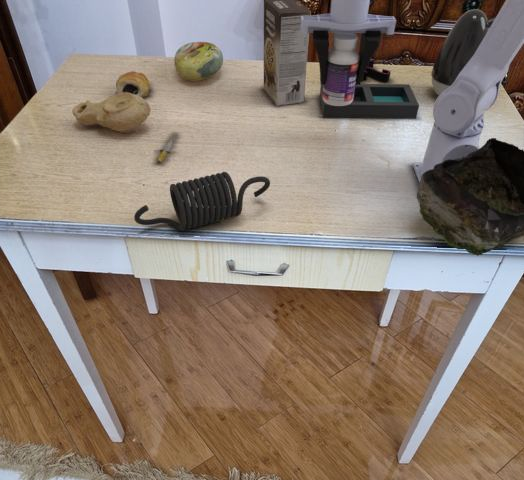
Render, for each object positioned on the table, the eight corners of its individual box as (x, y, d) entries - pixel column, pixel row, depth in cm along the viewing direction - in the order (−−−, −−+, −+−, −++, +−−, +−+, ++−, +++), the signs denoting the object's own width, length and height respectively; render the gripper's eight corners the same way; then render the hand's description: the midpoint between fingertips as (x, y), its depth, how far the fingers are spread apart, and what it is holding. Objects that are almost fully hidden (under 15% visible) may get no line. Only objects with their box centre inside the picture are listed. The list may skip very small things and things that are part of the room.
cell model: (172, 78, 98) (165, 26, 102) (186, 106, 105) (179, 56, 110) (219, 61, 96) (210, 9, 100) (231, 90, 103) (222, 40, 108)
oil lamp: (80, 123, 91) (67, 99, 87) (149, 101, 91) (139, 75, 87) (85, 154, 85) (71, 129, 81) (158, 130, 86) (148, 104, 82)
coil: (264, 204, 75) (272, 241, 70) (137, 201, 71) (135, 239, 66) (270, 164, 69) (279, 201, 64) (132, 158, 65) (130, 197, 60)
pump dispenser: (479, 107, 95) (510, 20, 83) (427, 103, 96) (451, 16, 84) (473, 87, 101) (501, 3, 89) (425, 83, 102) (446, 0, 90)
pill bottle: (351, 108, 78) (361, 43, 71) (320, 105, 79) (326, 40, 72) (354, 95, 82) (363, 31, 74) (324, 92, 82) (330, 29, 75)
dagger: (169, 132, 87) (180, 134, 87) (169, 137, 87) (179, 139, 87) (153, 158, 80) (164, 161, 80) (153, 163, 80) (164, 166, 80)
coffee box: (262, 88, 100) (262, -2, 87) (290, 85, 101) (294, -5, 89) (275, 106, 94) (278, 12, 82) (305, 102, 96) (312, 9, 83)
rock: (431, 210, 56) (397, 256, 65) (584, 250, 57) (530, 290, 66) (437, 110, 63) (406, 164, 73) (572, 147, 64) (525, 196, 74)
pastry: (122, 82, 102) (119, 62, 99) (153, 82, 102) (150, 63, 99) (116, 100, 96) (111, 80, 93) (149, 100, 96) (145, 80, 93)
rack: (415, 118, 91) (419, 105, 90) (323, 117, 92) (324, 104, 90) (406, 96, 98) (409, 84, 96) (319, 96, 98) (320, 83, 96)
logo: (366, 56, 108) (400, 69, 103) (365, 64, 109) (398, 77, 104) (325, 70, 102) (358, 85, 97) (324, 78, 103) (357, 93, 99)
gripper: (397, -25, 70) (379, 73, 81) (302, -25, 70) (296, 72, 81) (406, -12, 66) (385, 90, 76) (304, -12, 66) (298, 89, 76)
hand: (340, 82), depth 78 cm, fingers closed on pill bottle, 5 cm apart
